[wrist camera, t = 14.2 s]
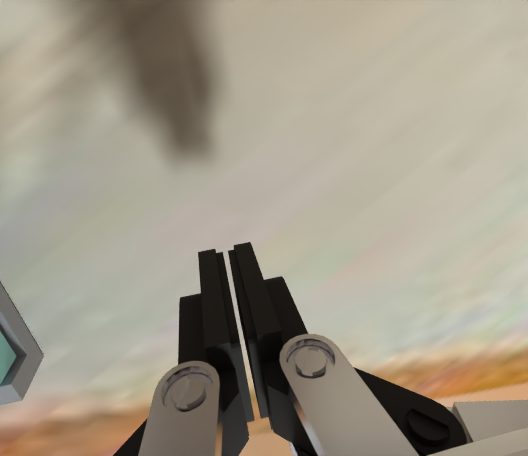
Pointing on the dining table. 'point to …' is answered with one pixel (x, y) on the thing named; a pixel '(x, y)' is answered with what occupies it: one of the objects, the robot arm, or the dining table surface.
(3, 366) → the clamp jaw
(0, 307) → the tray
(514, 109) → the dining table surface
